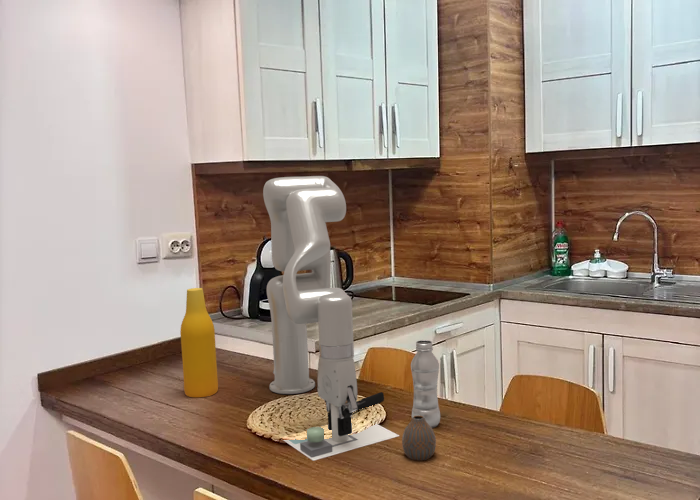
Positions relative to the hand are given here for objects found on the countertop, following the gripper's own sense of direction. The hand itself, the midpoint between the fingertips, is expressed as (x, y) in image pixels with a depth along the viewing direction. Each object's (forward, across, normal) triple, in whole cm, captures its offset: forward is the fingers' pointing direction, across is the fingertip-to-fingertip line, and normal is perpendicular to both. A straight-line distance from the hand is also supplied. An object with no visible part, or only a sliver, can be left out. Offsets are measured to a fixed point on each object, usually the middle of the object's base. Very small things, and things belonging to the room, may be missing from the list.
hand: (340, 430), depth 156 cm
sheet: (+2, -2, 0) cm, 3 cm away
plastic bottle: (+3, +4, +20) cm, 21 cm away
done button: (-1, +2, -8) cm, 8 cm away
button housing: (+2, +2, -8) cm, 8 cm away
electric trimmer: (+3, -14, +15) cm, 21 cm away
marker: (+2, 0, 0) cm, 2 cm away
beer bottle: (+3, -54, -12) cm, 55 cm away
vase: (+3, +18, +8) cm, 20 cm away
